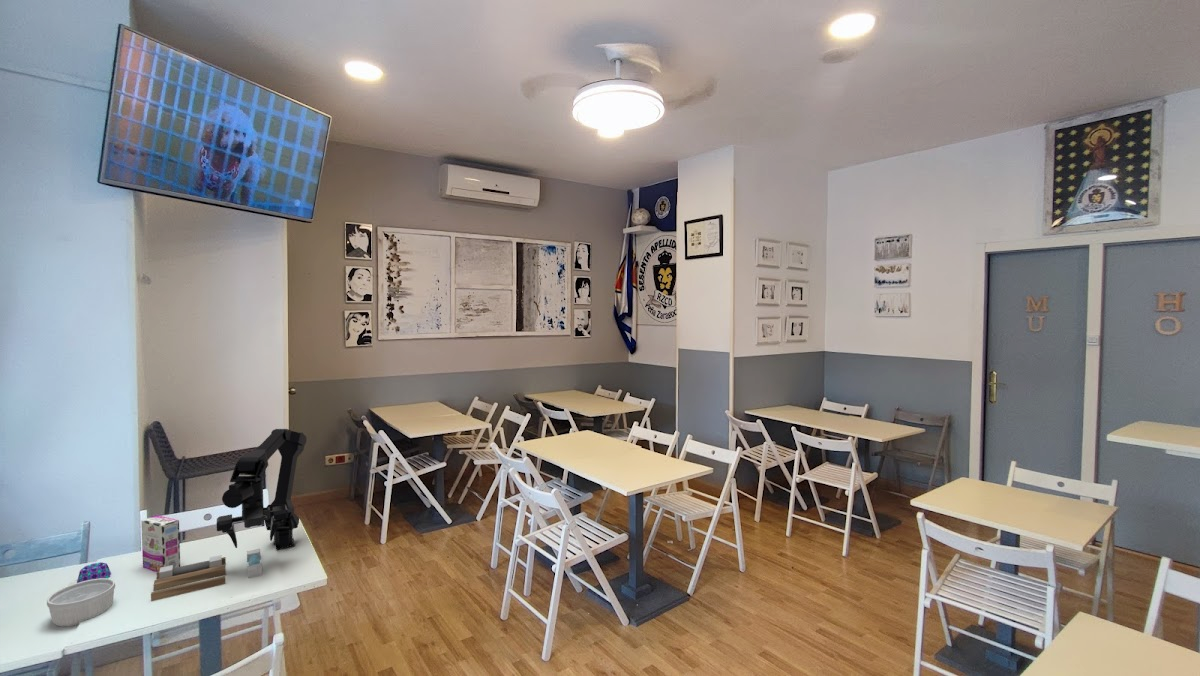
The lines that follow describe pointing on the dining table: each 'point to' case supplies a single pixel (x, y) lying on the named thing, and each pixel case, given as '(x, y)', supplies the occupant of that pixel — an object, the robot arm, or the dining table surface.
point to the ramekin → (81, 601)
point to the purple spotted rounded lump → (93, 572)
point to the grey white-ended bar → (190, 567)
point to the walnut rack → (184, 579)
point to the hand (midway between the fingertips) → (253, 543)
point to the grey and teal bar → (254, 563)
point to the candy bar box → (160, 542)
